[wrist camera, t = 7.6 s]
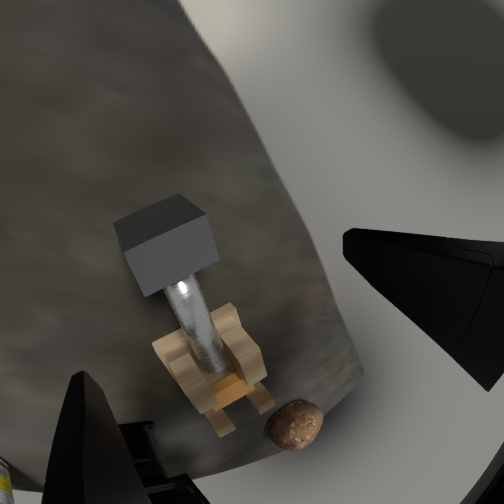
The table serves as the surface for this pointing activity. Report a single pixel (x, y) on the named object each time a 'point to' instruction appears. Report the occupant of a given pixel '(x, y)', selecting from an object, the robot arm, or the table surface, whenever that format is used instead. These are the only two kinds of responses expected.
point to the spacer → (230, 389)
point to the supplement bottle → (5, 485)
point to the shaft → (176, 268)
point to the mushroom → (295, 425)
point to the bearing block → (199, 381)
